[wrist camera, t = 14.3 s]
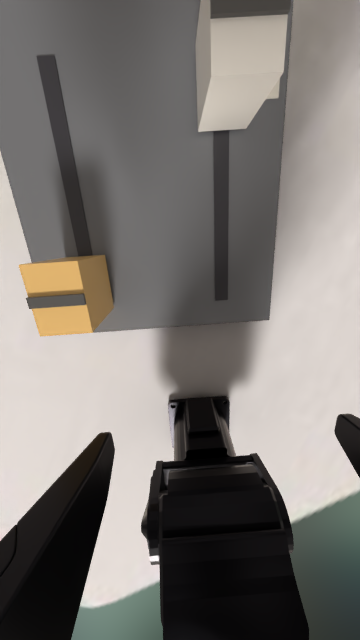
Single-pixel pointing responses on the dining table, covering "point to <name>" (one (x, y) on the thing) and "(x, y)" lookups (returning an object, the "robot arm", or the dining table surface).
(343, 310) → the dining table surface
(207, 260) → the console
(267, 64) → the fader
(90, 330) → the block
